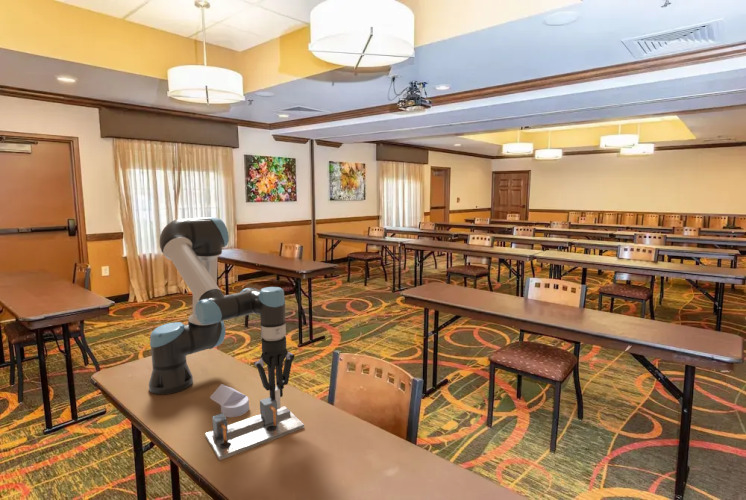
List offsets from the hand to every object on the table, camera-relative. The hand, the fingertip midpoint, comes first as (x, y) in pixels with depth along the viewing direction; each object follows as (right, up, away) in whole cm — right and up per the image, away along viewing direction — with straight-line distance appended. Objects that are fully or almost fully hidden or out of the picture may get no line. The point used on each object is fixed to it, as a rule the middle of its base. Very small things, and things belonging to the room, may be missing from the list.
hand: (276, 407), depth 132 cm
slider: (-1, -4, -2) cm, 5 cm away
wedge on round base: (-18, -4, +9) cm, 20 cm away
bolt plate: (-5, -6, -5) cm, 9 cm away
